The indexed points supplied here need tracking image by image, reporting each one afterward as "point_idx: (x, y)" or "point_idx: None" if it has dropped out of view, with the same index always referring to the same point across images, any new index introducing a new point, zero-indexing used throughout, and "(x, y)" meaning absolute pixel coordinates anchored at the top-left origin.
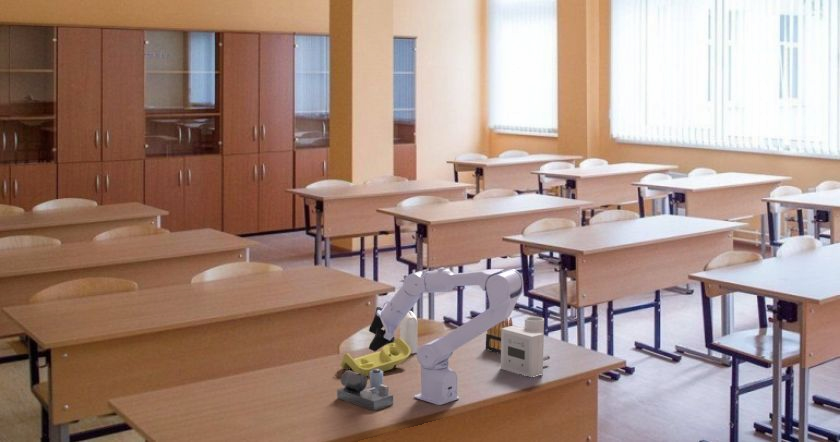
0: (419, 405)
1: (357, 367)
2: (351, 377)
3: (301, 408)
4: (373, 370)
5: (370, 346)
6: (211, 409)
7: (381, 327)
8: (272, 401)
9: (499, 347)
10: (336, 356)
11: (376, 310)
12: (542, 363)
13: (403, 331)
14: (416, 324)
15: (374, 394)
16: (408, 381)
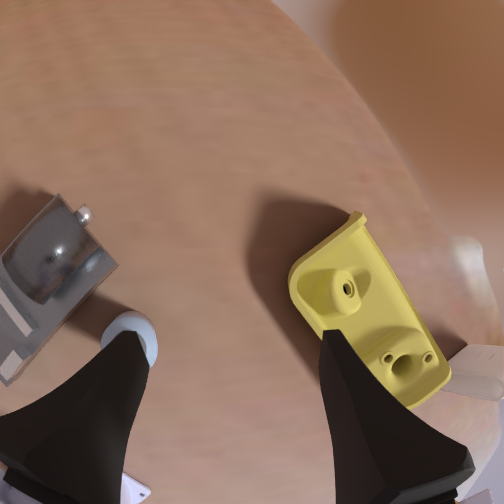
0: None
1: (300, 262)
2: (20, 236)
3: (13, 114)
4: (115, 336)
5: (109, 344)
6: None
7: (331, 428)
8: (83, 49)
9: None
10: (426, 210)
11: (407, 485)
12: None
13: (484, 363)
14: (490, 398)
15: (4, 326)
16: (243, 424)
